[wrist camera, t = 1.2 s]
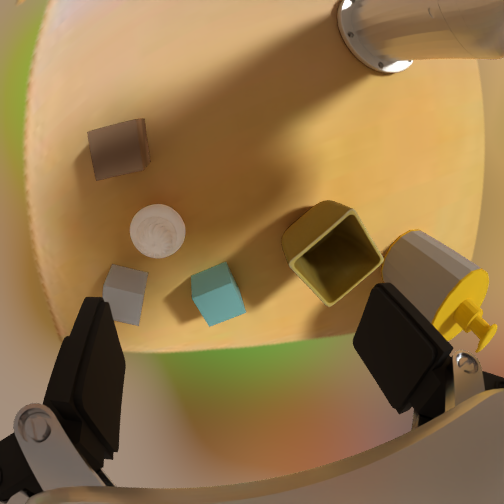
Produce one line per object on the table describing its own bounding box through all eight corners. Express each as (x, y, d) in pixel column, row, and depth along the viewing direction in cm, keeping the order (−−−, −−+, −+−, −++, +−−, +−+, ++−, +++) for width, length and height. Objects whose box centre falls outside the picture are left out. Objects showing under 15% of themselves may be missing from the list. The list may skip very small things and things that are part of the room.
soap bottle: (374, 300, 46) (444, 388, 28) (378, 236, 40) (476, 322, 21) (427, 278, 47) (497, 347, 29) (436, 217, 41) (527, 281, 22)
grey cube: (112, 263, 33) (103, 285, 29) (148, 272, 35) (143, 295, 31) (109, 293, 35) (101, 317, 31) (142, 301, 37) (138, 325, 33)
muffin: (179, 248, 34) (177, 279, 28) (131, 237, 32) (120, 266, 26) (191, 201, 32) (192, 224, 26) (141, 189, 30) (128, 209, 24)
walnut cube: (102, 128, 26) (87, 131, 21) (144, 118, 26) (135, 119, 22) (109, 170, 28) (96, 180, 24) (150, 161, 29) (143, 170, 24)
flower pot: (264, 229, 35) (286, 265, 28) (317, 183, 34) (354, 207, 26) (302, 269, 40) (329, 309, 32) (349, 229, 38) (385, 261, 30)
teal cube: (190, 275, 36) (191, 298, 32) (225, 261, 37) (231, 282, 32) (206, 302, 39) (209, 326, 35) (239, 289, 39) (246, 312, 35)
